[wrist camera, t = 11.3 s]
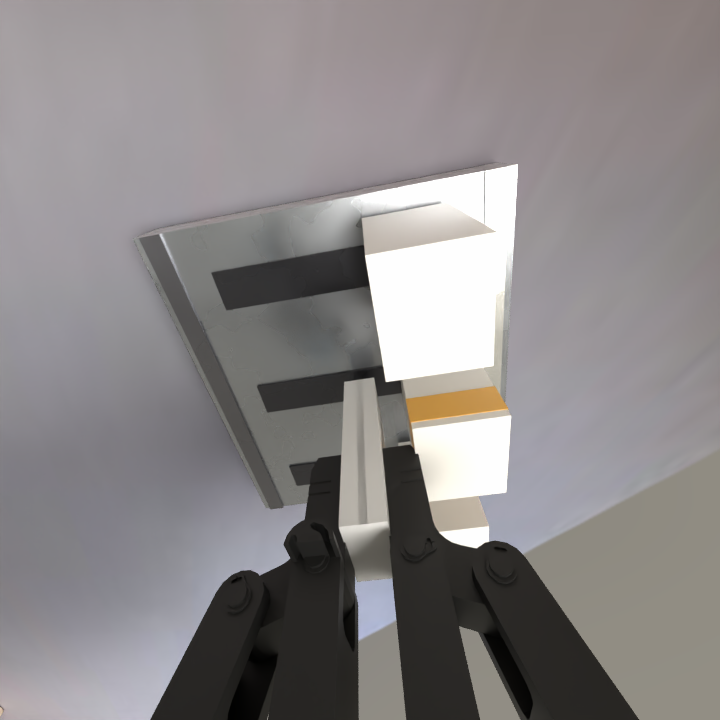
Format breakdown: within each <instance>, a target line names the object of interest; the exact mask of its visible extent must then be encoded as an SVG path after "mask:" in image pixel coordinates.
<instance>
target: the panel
mask: <svg viewBox="0 0 720 720" xmlns="http://www.w3.org/2000/svg"><path fill="white" fill-rule="evenodd" d="M517 168H518V165H517V164H507V163H492V164H487V165H482V166H477V167H472V168H467V169H461V170H456V171H451V172H446V173H441V174H436V175H430V176H425V177H420V178H415V179H410V180H405V181H400V182H394V183H389V184H384V185H379V186H374V187H369V188H364V189H358V190H353V191H348V192H343V193H338V194H333V195H328V196H322V197H317V198H312V199H307V200H302V201H297V202H292V203H286V204H281V205H276V206H271V207H266V208H261V209H256V210H250V211H245V212H240V213H235V214H230V215H225V216H219V217H214V218H209V219H204V220H199V221H194V222H189V223H183V224H178V225H173V226H168V227H163V228H158V229H156V230H153V231H151V232H148V233H146V234H143V235H141V236H139V237H136V238H134V239H133V241H134V243H135V245H136V247H137V249H138V251H139V253H140V255H141V257H142V259H143V261H144V263H145V265H146V267H147V269H148V271H149V273H150V275H151V277H152V279H153V281H154V283H155V285H156V287H157V289H158V291H159V293H160V295H161V297H162V299H163V301H164V303H165V305H166V307H167V309H168V311H169V313H170V315H171V317H172V319H173V321H174V323H175V325H176V327H177V329H178V331H179V333H180V335H181V337H182V339H183V341H184V343H185V346H186V348H187V350H188V352H189V354H190V356H191V358H192V360H193V362H194V364H195V366H196V368H197V370H198V372H199V374H200V376H201V378H202V380H203V382H204V384H205V386H206V388H207V390H208V392H209V394H210V396H211V398H212V400H213V402H214V404H215V406H216V408H217V410H218V412H219V414H220V416H221V418H222V420H223V422H224V424H225V426H226V428H227V430H228V432H229V434H230V436H231V438H232V440H233V442H234V444H235V446H236V448H237V450H238V452H239V455H240V457H241V459H242V461H243V463H244V465H245V467H246V469H247V471H248V473H249V475H250V477H251V479H252V481H253V483H254V485H255V487H256V489H257V491H258V493H259V495H260V497H261V499H262V501H263V503H264V505H265V507H266V508H270V509H276V508H283V506H287V505H295V504H303V503H307V500H308V496H309V495H308V492H309V486H310V477H311V470H312V468H313V467H314V465H315V463H316V461H317V460H318V458H322V457H329V456H336V455H341V453H342V427H343V401H344V382H347V381H354V380H360V379H367V378H374V380H375V385H376V391H377V396H378V401H379V407H380V412H381V418H382V423H383V430H384V439H385V448H389V447H396V446H398V443H401V442H409V441H410V437H409V432H408V426H407V421H406V416H405V409H404V402H403V395H402V388H401V381H400V380H397V381H390V382H386V379H385V373H384V367H383V361H382V355H381V349H380V343H379V337H378V331H377V325H376V319H375V313H374V307H373V301H372V295H371V289H370V283H369V276H368V270H367V264H366V258H365V250H364V238H363V227H362V218H366V217H371V216H376V215H382V214H387V213H392V212H398V211H403V210H408V209H414V208H419V207H424V206H430V205H435V204H440V203H445V202H448V203H449V204H451V205H453V206H455V207H456V208H458V209H460V210H461V211H463V212H465V213H466V214H468V215H470V216H472V217H473V218H475V219H477V220H478V221H480V222H482V223H483V224H485V225H487V226H489V227H490V228H492V229H494V230H495V231H497V232H498V233H497V268H496V302H495V337H494V366H491V367H484V370H485V371H486V373H487V375H488V377H489V378H490V380H491V382H492V383H493V385H494V386H495V387H496V389H497V390H498V392H499V394H500V395H501V397H502V399H503V401H504V402H505V396H506V377H507V358H508V339H509V320H510V301H511V282H512V263H513V244H514V225H515V206H516V187H517Z"/></svg>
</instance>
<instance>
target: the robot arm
mask: <svg viewBox="0 0 720 720" xmlns="http://www.w3.org/2000/svg"><path fill="white" fill-rule="evenodd" d="M308 495H309V496H308V500H307V507H306V515H305V520H304V521H301V522H300V523H298V524H297V525H296V526H294V527H293V528H292V530H291V531H290V532H289V533H288V535H287V537H286V539H285V542H284V546H285V548H286V550H287V552H288V554H289V556H290V558H291V559H289V560H288V561H287V562H286V563H284V564H283V565H281V566H279V567H277V568H275V569H273V570H271V571H269V572H266V573H264V574H262V575H260V576H259V574H258V573H256V572H253V571H251V570H247V571H240V572H238V573H236V574H233V575H232V576H230V577H229V578H228V579H227V580H226V581H225V582H223V584H222V585H221V587H220V588H219V589H218V591H217V592H216V594H215V596H214V598H213V600H212V602H211V604H210V606H209V608H208V609H207V611H206V613H205V615H204V617H203V619H202V621H201V623H200V625H199V627H198V629H197V631H196V633H195V635H194V637H193V638H192V640H191V642H190V644H189V646H188V648H187V650H186V652H185V654H184V656H183V658H182V660H181V662H180V664H179V665H178V667H177V669H176V671H175V673H174V675H173V677H172V679H171V681H170V683H169V685H168V687H167V689H166V691H165V693H164V694H163V696H162V698H161V700H160V702H159V704H158V706H157V708H156V710H155V712H154V714H153V716H152V718H151V720H267V717H268V714H269V717H268V720H359V718H358V715H359V713H358V711H359V710H358V602H357V596H356V593H355V577H356V580H357V582H361V581H370V580H381V579H390V578H393V589H394V599H395V609H396V619H397V629H398V639H399V650H400V659H401V670H402V680H403V690H404V700H405V711H406V720H480V717H479V713H478V709H477V704H476V700H475V695H474V691H473V687H472V682H471V678H470V673H469V669H468V665H467V660H466V656H465V652H464V647H463V643H462V638H461V634H460V629H459V626H461V627H464V628H467V629H471V630H474V631H477V632H478V633H479V635H480V637H481V639H482V641H483V643H484V645H485V647H486V649H487V651H488V653H489V655H490V657H491V659H492V661H493V663H494V665H495V668H496V670H497V671H498V674H499V676H500V678H501V680H502V682H503V684H504V686H505V688H506V690H507V692H508V694H509V696H510V698H511V701H512V703H513V704H514V707H515V709H516V711H517V713H518V715H519V717H520V719H521V720H639V719H638V717H637V716H636V715H635V713H634V712H633V710H632V709H631V708H630V706H629V705H628V703H627V702H626V701H625V699H624V697H623V696H622V695H621V693H620V692H619V690H618V689H617V688H616V686H615V685H614V683H613V682H612V680H611V679H610V678H609V676H608V675H607V673H606V672H605V670H604V669H603V668H602V666H601V665H600V663H599V662H598V660H597V659H596V657H595V656H594V655H593V653H592V652H591V650H590V649H589V648H588V646H587V645H586V643H585V642H584V640H583V639H582V638H581V636H580V635H579V633H578V632H577V630H576V629H575V628H574V626H573V625H572V623H571V622H570V621H569V619H568V618H567V616H566V615H565V613H564V612H563V611H562V609H561V608H560V606H559V605H558V603H557V602H556V600H555V599H554V598H553V596H552V595H551V593H550V592H549V591H548V589H547V588H546V587H545V585H544V583H543V582H542V580H541V579H540V578H539V576H538V575H537V573H536V572H535V571H534V569H533V568H532V566H531V565H530V563H529V562H528V560H527V559H526V558H525V557H524V555H523V554H522V553H521V552H520V551H519V550H518V549H517V548H515V547H513V546H511V545H510V544H508V543H505V542H500V541H490V542H485V543H484V544H482V545H481V546H479V547H478V548H473V547H468V546H463V545H459V544H456V543H453V542H451V541H449V540H448V539H446V538H444V537H443V536H442V535H441V534H440V533H439V531H438V530H437V528H436V527H435V525H434V522H433V519H432V514H431V509H430V505H429V500H428V495H427V491H426V486H425V482H424V477H423V472H422V468H421V463H420V459H419V455H418V453H417V454H415V450H414V448H413V447H412V446H411V445H403V446H396V447H389V448H385V439H384V430H383V423H382V418H381V412H380V407H379V401H378V396H377V391H376V385H375V380H374V378H367V379H360V380H354V381H347V382H344V401H343V427H342V453H341V455H336V456H329V457H322V458H318V460H317V461H316V463H315V465H314V467H313V468H312V470H311V477H310V486H309V492H308Z"/></svg>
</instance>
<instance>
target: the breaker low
mask: <svg viewBox="0 0 720 720" xmlns="http://www.w3.org/2000/svg"><path fill="white" fill-rule="evenodd" d="M403 445H411V442H410V441H409V442H401V443H398V446H403ZM429 505H430V509H431V514H432V519H433V522H434V525H435V527H436V528H437V530H438V531H439V533H440V534H441V535H442V536H443V537H444V538H446V539H448V540H449V541H451V542H453V543H456V544H459V545H463V546H468V547H473V548H478V547H479V546H481V545H482V544H484V543H485V542H489V525H488V522H487V519H486V516H485V514H484V511H483V508H482V505H481V502H480V499H479V497H478V496H473V497H465V498H456V499H448V500H440V501H431V502H429Z"/></svg>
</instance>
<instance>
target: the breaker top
mask: <svg viewBox="0 0 720 720" xmlns="http://www.w3.org/2000/svg"><path fill="white" fill-rule="evenodd" d="M362 227H363V238H364V250H365V258H366V264H367V270H368V276H369V283H370V289H371V295H372V301H373V307H374V313H375V319H376V325H377V331H378V337H379V343H380V349H381V355H382V361H383V367H384V373H385V379H386V382H390V381H397V380H403V379H410V378H417V377H423V376H430V375H437V374H444V373H450V372H457V371H464V370H470V369H477V368H484V367H491V366H494V337H495V302H496V268H497V233H498V232H497V231H495V230H494V229H492V228H490V227H489V226H487V225H485V224H483V223H482V222H480V221H478V220H477V219H475V218H473V217H472V216H470V215H468V214H466V213H465V212H463V211H461V210H460V209H458V208H456V207H455V206H453V205H451V204H449V203H448V202H445V203H440V204H435V205H430V206H424V207H419V208H414V209H408V210H403V211H398V212H392V213H387V214H382V215H376V216H371V217H366V218H362Z"/></svg>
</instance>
